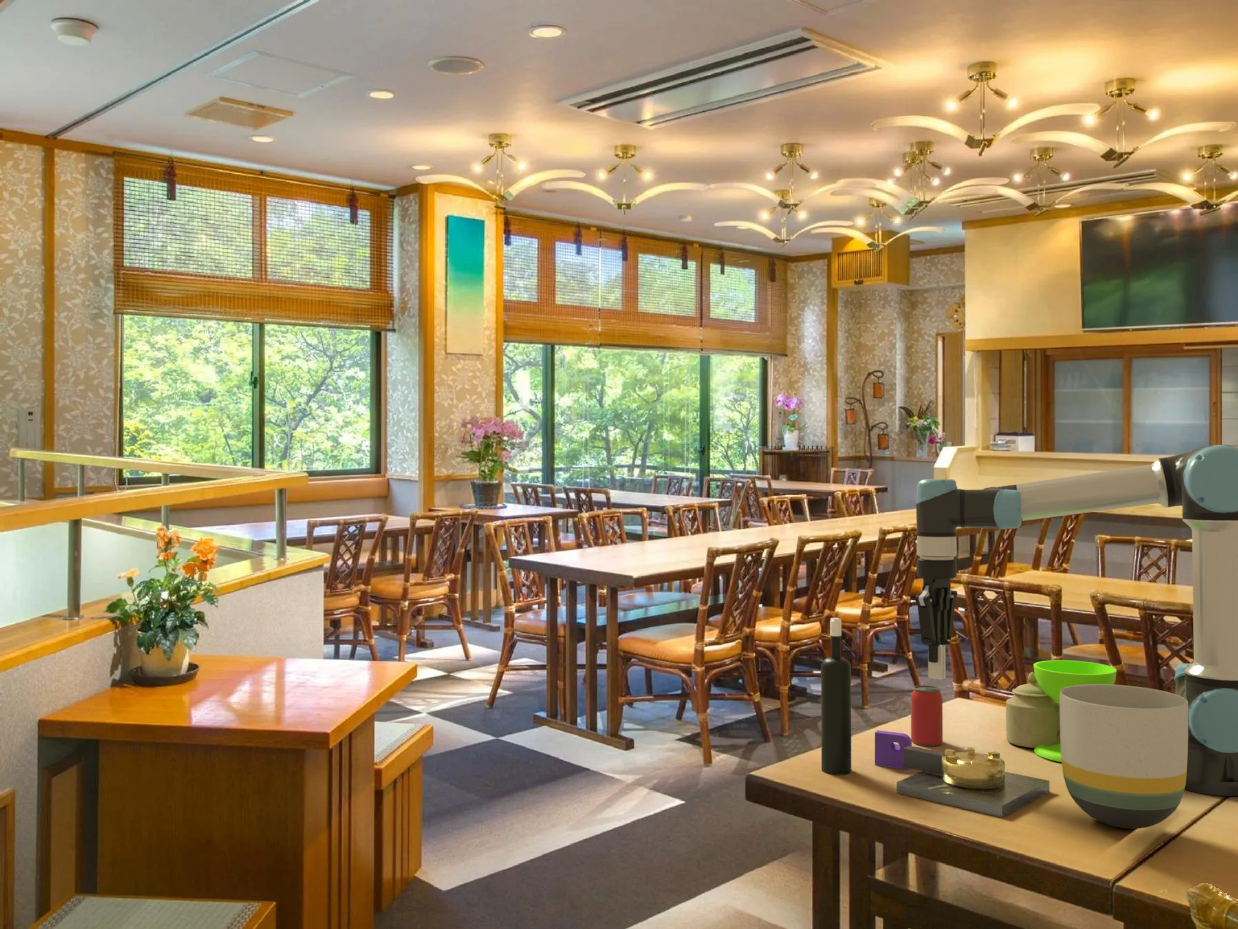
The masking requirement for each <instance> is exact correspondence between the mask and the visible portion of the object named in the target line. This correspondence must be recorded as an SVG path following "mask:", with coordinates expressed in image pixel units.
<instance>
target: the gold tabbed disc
mask: <svg viewBox="0 0 1238 929" xmlns="http://www.w3.org/2000/svg"><path fill="white" fill-rule="evenodd" d="M918 747H919V746H914V747H913V745H912V746H908V747H905V748H903V767H906V768H910V769H912V770H914V771H915V770H917V771H919V772H922V771H925V772H929V773H934V774H939V775H942V779H943V780H944V781H945V782H947V783H950V784H952V785H956V786H960V787H966V788H975V789H990V788H997V787H1001V786H1003V785H1004V784H1005V772H1006V768H1005V767H1006V763H1005V761H1004V760H1003V758H1001V754H1000V752H997V751H988V754H986V753H982V752H981V753H980V752H976V751H975V750H976V749H975V747H974V746H973V747H971V746H970V747H969V746H967V748H966V749H967V751H966V752H965V751H959V752H958V751H956V750H954V749H950V748H946V749H944V752H943V751H937V750H932V749H928V748H924V747H920V748H918ZM910 769H909V770H910Z"/></svg>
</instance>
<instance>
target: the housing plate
mask: <svg viewBox="0 0 1238 929" xmlns="http://www.w3.org/2000/svg"><path fill="white" fill-rule="evenodd" d="M1049 792H1050V780H1048V779H1044V778H1038V777H1033V776H1028V775H1022V774H1018V773H1014V772H1008V771H1005V784H1004V785H1003V786H1001V787H997V788H990V789H975V788H966V787H960V786H956V785H952V784H950V783H947V782H945V781H944V780H943V779H942V775H939V774H934V773H929V772H925V771H919V772H916V773H915V774H912V775H910V776H907V777H906V778H903V779H901V780H899V781H897V782H896V794H900V795H903V796H908V797H912V798H917V799H919V800H920V799H921V800H926V801H929V802H933V803H937V804H938V803H939V804H943V805H947V806H951V807H955V808H959V809H962V810H967V811H968V810H969V811H973V812H976V813H981V814H986V815H990V816H993V817H998V818H1004V817H1006V816H1007V815H1009V814H1011V813H1013V812H1015V811H1017V810H1019V809H1020V808H1022V807H1024V806H1026V805H1029V803H1031V802H1034V801H1035V800H1036V799H1038V798H1040V797H1042V796H1044V795H1047V794H1048V793H1049Z"/></svg>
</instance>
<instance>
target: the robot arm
mask: <svg viewBox="0 0 1238 929" xmlns="http://www.w3.org/2000/svg"><path fill="white" fill-rule="evenodd" d="M1154 504H1155V505H1156V504H1158V505H1161V506H1162V507H1163V508H1172V507H1182V509H1181V510H1182V511H1181V512H1182V513H1181V515H1182V518H1181V519H1182V522H1184V524H1186V525H1187V526H1188V527H1189V528H1190V530H1191V540H1192V542H1191V544H1192V545H1191V546H1192V548H1191V550H1192V551H1191V552H1192V554H1191V555H1192V612H1193V613H1192V617H1193V620H1192V622H1193V623H1192V624H1193V629H1192V630H1193V662H1192V663H1179V664H1178V665H1177V666H1176V668H1175V675H1174V678H1173V680H1174V682H1175V694H1176V695H1179V696H1181V697H1183V698H1185V699H1186V700H1187V701H1188V757H1187V776H1186V785H1185V789H1184V791H1189V792H1193V793H1197V794H1202V795H1210V796H1218V797H1219V796H1220V797H1238V448H1237V447H1236V446H1232V445H1230V444H1229V445H1228V444H1216V445H1215V444H1214V445H1206V446H1202V447H1198V448H1195V449H1193V450H1189V451H1187V452H1184V453H1179V454H1176V455H1172V456H1171V455H1170V456H1165V457H1160V458H1156V459H1155V460H1154V461H1153V463H1151V464H1147V465H1141V466H1135V467H1133V466H1132V467H1126V468H1119V469H1113V470H1112V469H1111V470H1108V471H1107V470H1106V471H1100V472H1092V473H1084V474H1077V475H1072V476H1071V475H1070V476H1065V477H1058V478H1057V477H1056V478H1051V479H1043V480H1038V481H1030V482H1023V483H1022V482H1021V483H1016V484H1009V485H1002V486H990V487H983V489H980V488H979V489H965V488H964V489H962V488H958V486H957V481H956V480H955V479H949V478H948V479H946V478H945V479H943V478H941V479H940V478H937V479H936V478H935V479H934V478H931V479H930V478H929V479H927V478H925V479H921V480H919V481H918V482H917V485H916V501H915V511H916V517H915V518H916V519H915V520H916V540H915V544H916V556H918V557H919V558H917V560H916V576H917V578H920V579H923V581H922V587H921V591H922V593H921V594H916V595H915V598H914V599H915V603H916V606H917V611H918V612H917V614H918V620H919V630H920V639H921V643H922V645H925V646H927V657H928V658H927V674H928V675H927V679H933V680H940V681H942V680H945V679H946V678H947V677H946V673H947V672H946V665H947V664H946V663H947V662H946V646H947V645H949V646H950V645H951V644H952V641H951V640H952V637H953V627H954V626H953V625H954V618H955V616H954V614H955V608H956V601H957V598H958V591H957V590H953V589H951V588H952V587H951V586H952V585H951V584H952V583H951V580H952V579H955V578H956V577H957V572H958V570H957V560H956V558H955V557H957V555H958V553H957V552H958V550H957V547H958V546H957V528H961V529H965V528H967V529H970V528H971V529H1000V530H1007V529H1018V528H1021V525H1022V521H1032V520H1039V519H1046V518H1055V517H1063V516H1071V515H1079V514H1084V513H1085V514H1086V513H1092V512H1095V513H1096V512H1100V511H1109V510H1117V509H1118V510H1119V509H1124V508H1133V507H1140V506H1141V507H1142V506H1146V505H1147V506H1149V505H1154Z"/></svg>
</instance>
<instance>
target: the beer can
mask: <svg viewBox="0 0 1238 929" xmlns="http://www.w3.org/2000/svg"><path fill="white" fill-rule="evenodd" d="M910 695H911V696H910V738H911V741H912V743H913V744H915V745H918V746H922V747H937V746H940V745H942V744H943V741H944V740H943V739H944V738H943V733H944V732H943V730H944V729H943V728H944V727H943V726H944V725H943V724H944V723H943V720H944V719H943V714H944V713H943V712H944V711H943V704H944V703H943V701H944V700H943V699H944V698H943V696H942V693H941V689H940V687H938V686H935V685H924V684H923V685H922V684H921V685H920V684H919V685H915V686H913V691H912V692H911V694H910Z"/></svg>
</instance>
